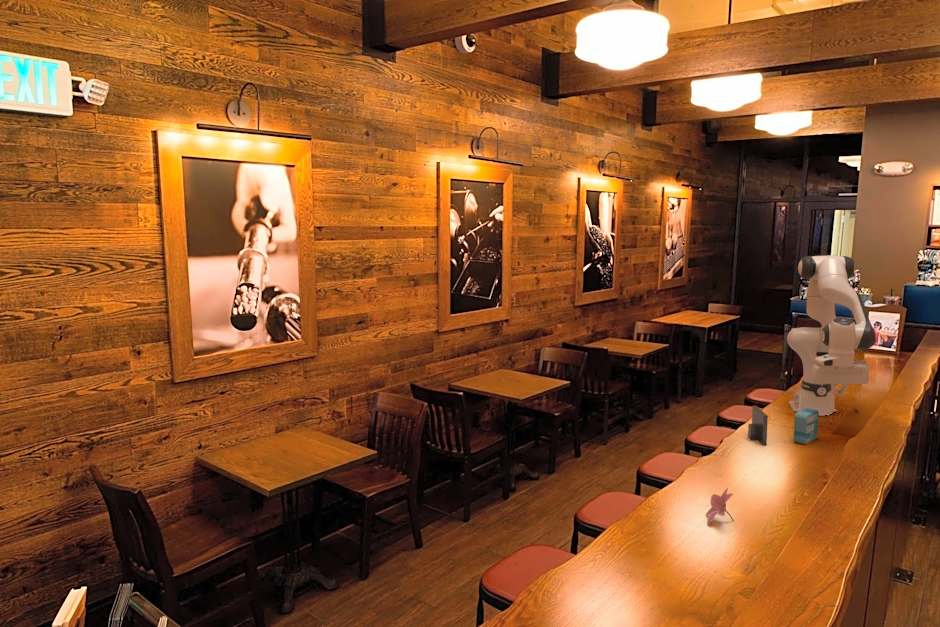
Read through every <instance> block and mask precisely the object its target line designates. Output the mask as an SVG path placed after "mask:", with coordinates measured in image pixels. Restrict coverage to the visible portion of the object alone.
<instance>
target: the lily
mask: <svg viewBox="0 0 940 627" xmlns="http://www.w3.org/2000/svg"><path fill="white" fill-rule="evenodd" d="M728 489H729V487H726V489H725V490H724V491H723V492H722V494H721V495H718V494H717V493H715V494H711V496H710V506H711V507H710V509H709V510H707V512H706V514H705V517H707V516H708V517H707V521H706V526H709V525H710V523H711V522H712V521H713V519H714V518H715V517H716V516H717V515H718V516H722V517H725V516H726V515H725V513H727V514H728V516H729V517H730V519H731V520H732V522H734V520H735V519H734V518H733V517H732V516H731V514H730V512H728V510H727V502H728V501H729V500H730V499H731V497H733V496H734V494H733V493H728Z"/></svg>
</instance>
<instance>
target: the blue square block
mask: <svg viewBox="0 0 940 627" xmlns="http://www.w3.org/2000/svg"><path fill="white" fill-rule="evenodd" d="M818 415H819V412H818V410H813V409H808V408H805V409H803V410H801V411H799V412H796V413H795V414H794V424H793V442H794V443H797V444H798V443H799V444H803V445H808V444H809V443H811V442H813V441H815V440H816V439H817V438H818V433H819V432H818V431H819V430H818V428H819V416H818Z"/></svg>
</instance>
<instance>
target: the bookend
mask: <svg viewBox="0 0 940 627" xmlns="http://www.w3.org/2000/svg"><path fill="white" fill-rule="evenodd" d="M751 412H752V414H751V415H752V416H751V423H748V424H747V426H748V430H747V438H748V440H749V439H750V440H749V441H757V440H758V443H760V444H761V445H762V446H767V439H768V421H769V420H768V419H769V416H768V415H767V414H766V413H765V412H764V411H763V410H762V409H761V408H760V407H759V406H758V405H752V411H751Z"/></svg>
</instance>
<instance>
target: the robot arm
mask: <svg viewBox="0 0 940 627" xmlns="http://www.w3.org/2000/svg"><path fill="white" fill-rule="evenodd" d="M797 272H798V274H799V277H800V278H802V279H805V280H808V281H809V282H808V286H807V293H806V314H807V316H808V317H809V318H811V319H812V320H815V321H817V322H819V323H820V325H821V327H806V326H804V327H803V326H802V327H794V328H791V330H790V331H789V332H788V333H787V337H786V342H787V344H788V346H789V347H790V348H791V349H792V350H793V351H794V352H795V353H796V354H797V355H798V356H799V358H800V359H801V362H802V368H803V370H802V371H803V372H802V373H803V375H802V376H803V377H802V380H801V383H800V384H801V385H800V388H798V389H797V391H795V392H794V394H792V400H789V401H788V404H789V406H790V407H791V409H792V411H793V412H796V413H797V412H799V411H801V410H803V409H805V408H808V409H813V410H818V412H819V415H818V417H819V416H822V417H823V416H824V417H825V415H827V416H831V415H830V414H832V413H833V412H835V411H837V412H838V409H836V408H835V395H836V396H838V395H842V396H845V392H846V390H847V389H848V387H849V385H867V384H869V382H870V374H869V373H870V371H869V370H870V363H869V361H867V360H865V359H861V360H859V359H856V360H855V356H856V355H855V353H856V352H855V350H864V351H867V350H869V349H870V348H872V347H873V346H874V345H875V344H876V340H877V335H876V332H875V329H874V327H873V324H872V323H871V320H870V319H869V314H868V313H867V310H866V307H865V304H864V302H863V299H862V297H861V296H862V295H860V293H859V291H857V290H856V289H854V288H853V287H852V286H851V285H850V283H849V280H850V279H851V278H853V276H854V273H855V272H856V264H855V261H854V258H852V257H850V256H848V255H847V256H846V255H842V256H840V255H830V254H828V255H814V256H812V255H807V256H803V257H802V258H800V261H799V263H798V266H797ZM836 304H837V305H840V306H843V307H845V308H847V309H849V310H850V311H851V312H852V315H853V318H854V320H852V319H850V318H846V317H838V318H837V316H836V308H835V305H836ZM817 353H827V354H824V355H823V354H822V355H820V356H818V355H817ZM838 385H842V387H841V389H837V386H838ZM832 390H833V392H832ZM833 414H834V413H833ZM833 414H832V415H833Z"/></svg>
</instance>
